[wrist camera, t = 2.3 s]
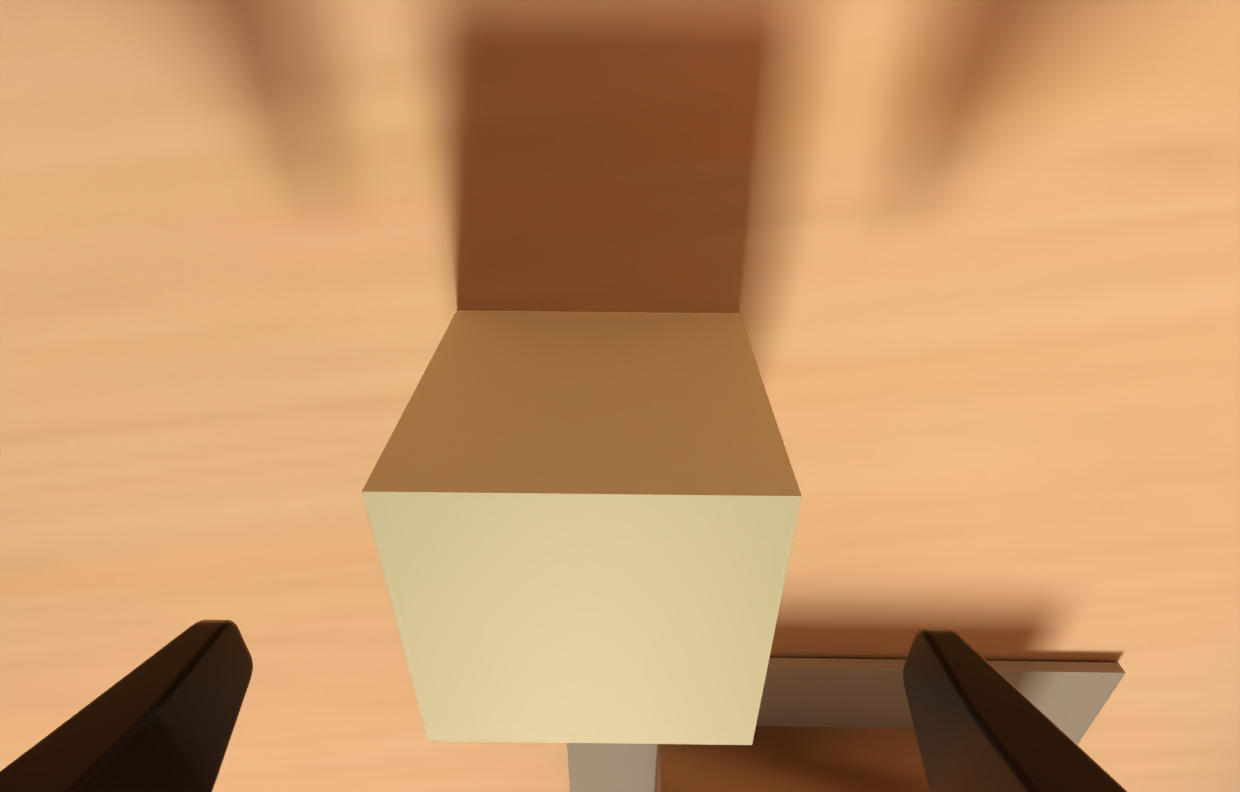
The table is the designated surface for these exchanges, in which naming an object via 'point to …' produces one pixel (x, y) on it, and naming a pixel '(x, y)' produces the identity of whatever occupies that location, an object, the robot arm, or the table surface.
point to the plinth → (797, 762)
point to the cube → (587, 529)
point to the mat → (856, 708)
